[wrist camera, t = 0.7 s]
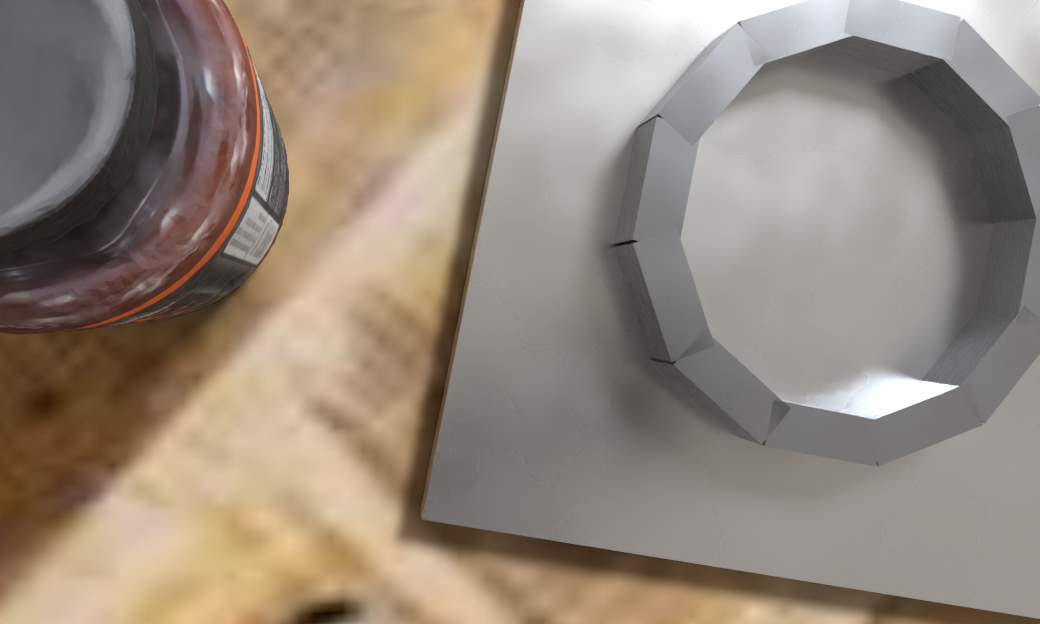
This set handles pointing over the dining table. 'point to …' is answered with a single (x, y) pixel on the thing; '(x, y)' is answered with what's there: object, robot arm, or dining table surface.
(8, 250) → the supplement bottle
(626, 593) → the dining table surface
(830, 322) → the duct plate
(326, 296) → the dining table surface
